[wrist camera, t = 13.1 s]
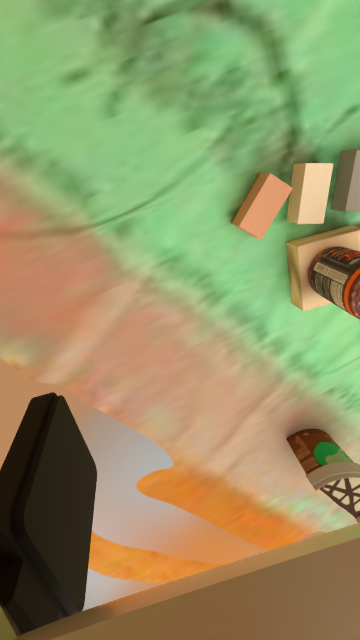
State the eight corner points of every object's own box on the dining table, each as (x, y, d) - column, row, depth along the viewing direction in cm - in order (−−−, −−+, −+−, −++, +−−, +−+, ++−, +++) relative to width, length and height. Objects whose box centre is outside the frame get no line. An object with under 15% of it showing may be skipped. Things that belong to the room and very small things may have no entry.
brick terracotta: (259, 173, 37) (270, 172, 34) (280, 187, 38) (292, 188, 35) (230, 222, 38) (238, 226, 36) (251, 235, 39) (261, 240, 37)
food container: (352, 447, 55) (397, 500, 46) (323, 470, 57) (361, 526, 47) (311, 408, 51) (351, 459, 42) (280, 434, 52) (313, 488, 43)
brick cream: (292, 164, 37) (306, 163, 34) (318, 164, 37) (333, 163, 35) (285, 220, 39) (297, 223, 37) (309, 220, 40) (323, 223, 37)
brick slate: (339, 151, 37) (356, 149, 34) (364, 152, 38) (383, 150, 35) (330, 208, 40) (345, 211, 37) (353, 208, 40) (370, 210, 37)
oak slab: (285, 242, 40) (297, 246, 37) (349, 225, 40) (365, 228, 38) (292, 302, 43) (303, 311, 41) (350, 286, 44) (365, 293, 41)
